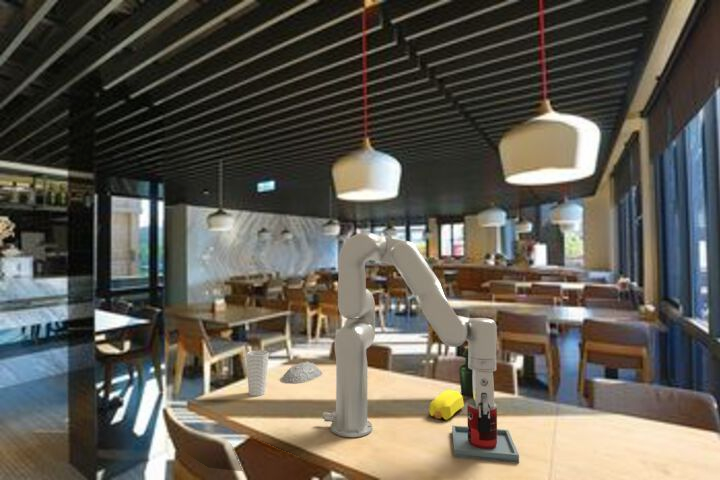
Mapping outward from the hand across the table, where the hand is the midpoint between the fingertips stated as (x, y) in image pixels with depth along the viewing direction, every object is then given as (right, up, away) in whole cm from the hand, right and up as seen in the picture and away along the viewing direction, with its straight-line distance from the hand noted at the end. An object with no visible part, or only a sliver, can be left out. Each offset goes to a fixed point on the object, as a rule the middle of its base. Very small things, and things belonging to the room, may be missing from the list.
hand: (481, 425), depth 114 cm
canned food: (0, -5, 0) cm, 5 cm away
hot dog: (-4, -7, +25) cm, 26 cm away
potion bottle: (+8, -8, +44) cm, 45 cm away
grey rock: (-60, -9, +67) cm, 90 cm away
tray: (0, -6, 0) cm, 6 cm away
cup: (-73, -7, +43) cm, 85 cm away
